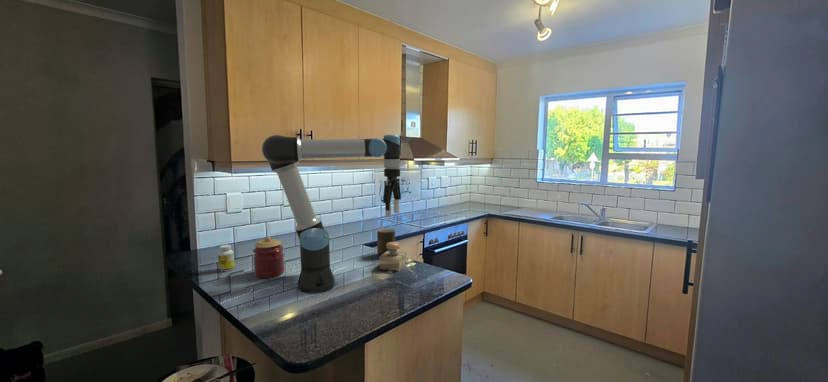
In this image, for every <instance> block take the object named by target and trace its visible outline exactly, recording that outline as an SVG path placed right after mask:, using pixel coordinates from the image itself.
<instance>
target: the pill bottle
mask: <svg viewBox="0 0 828 382" xmlns="http://www.w3.org/2000/svg"><path fill="white" fill-rule="evenodd" d="M219 250H220V251H219V252H218V253H217V257H218V270H219V271H220V272H223V271H225V272H230V270H231V271H233V270H234V269H235V254H234V252H235V251H233V250H232V245H231V244H223V245H220V246H219Z"/></svg>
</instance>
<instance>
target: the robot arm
mask: <svg viewBox="0 0 828 382" xmlns="http://www.w3.org/2000/svg"><path fill="white" fill-rule="evenodd" d="M261 146H262V147H261V152H262V155H263V157H264V158H265V160H267V162H268V164H269V166H270V169H271V171H272V172H274V173H276V174H277V177H278V179H279V181H280V184H281V186H282V189H283V191H284V194H285V196H286V200H287V201H288V205H289V207H290V210H291V212H292V215H293V217H294V220H295V222H296V227H295V228H294V229H295V232H296V234H297V237H298V239H299V250H300V251H299V252H300V254H299V255H300V273H299V277H298V280H297V282H296V283H297V284H296V285H297V291H299V292H301V293H304V294H320V293H324V292H326V291H329V290H331V289H333V288H334V287H335V285H336V279H335V276H334V274H333V271H332V268H331V259H330V234H329V232H328V231H327V230H326V229H325V227H324V225H323V222H322V219H320V218H318V217H317V216H316V214H315V211H314V208H313V206H312V202H311V199H310V197H309V194H308V192H307V189H306V187H305V185H304V182H303V179H302V176H301V173H300V171H299V168H298V166H299V163H300V162H301V160H305V159H307V160H310V159H336V158H363V157H364V158H368V157H369V158H372V157H374V158H380V157H382V156H383V168H384V169H383V175H384V177H385V178H386V180H384V181H383V183H384V184H383V185H384V187H383V197H382V198H383V199H382V203H383V204H384V205H385V208H384V209H385V210H384V211H385V212H384V213H385V214H384V215H385V218H392V204H393V214H399V213H400V200H401V199H402V193H401V187H400V184H401V182H400V181H401V180H400V178H399V177H400V176H401V169H400V168H401V163H402V161H401V154H400V153H401V140H400V136H399V135H398V134H385V135H383V138H333V139H332V138H327V139H321V138H320V139H317V138H316V139H315V138H314V139H313V138H312V139H301V138H300V137H298V136H297V137H296V136H284V135H280V134H273V135H271V136H269V137H267V138H265V140H264V141H263V143H262V145H261ZM392 195H393V198H394V199H393V200H392ZM391 201H393V203H391Z"/></svg>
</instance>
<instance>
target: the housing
mask: <svg viewBox="0 0 828 382" xmlns="http://www.w3.org/2000/svg"><path fill="white" fill-rule="evenodd" d="M378 258H379V259H378V261H379V270H385V269H389V270H388V271H393V270H396V271H395V272H400V271H401V270H402V269H403V268H404V267H405V266H406V265H407V252H404V251H397V256H396V257H395V256H389V251H386V252H385V253H384V254H382V255H381V256H380V257H379V256H378Z"/></svg>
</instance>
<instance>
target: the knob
mask: <svg viewBox="0 0 828 382" xmlns="http://www.w3.org/2000/svg"><path fill="white" fill-rule="evenodd" d="M386 248H387V249H389V256H395V257H396V256H397V252H398V251H397V250H398V249H400V242H398V241H395V242H388V243H386Z"/></svg>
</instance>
